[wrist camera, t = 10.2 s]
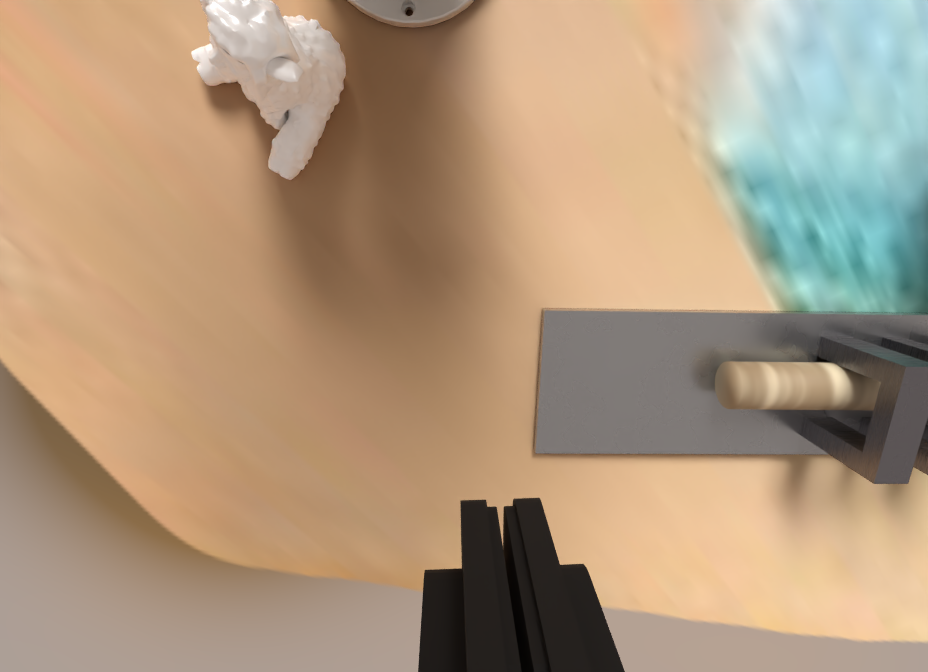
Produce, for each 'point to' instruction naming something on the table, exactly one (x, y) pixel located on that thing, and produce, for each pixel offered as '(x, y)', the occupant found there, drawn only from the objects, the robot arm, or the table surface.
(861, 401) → the dowel
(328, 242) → the table surface
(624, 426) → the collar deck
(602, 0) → the table surface
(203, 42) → the table surface
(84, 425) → the table surface
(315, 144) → the white creature statuette
